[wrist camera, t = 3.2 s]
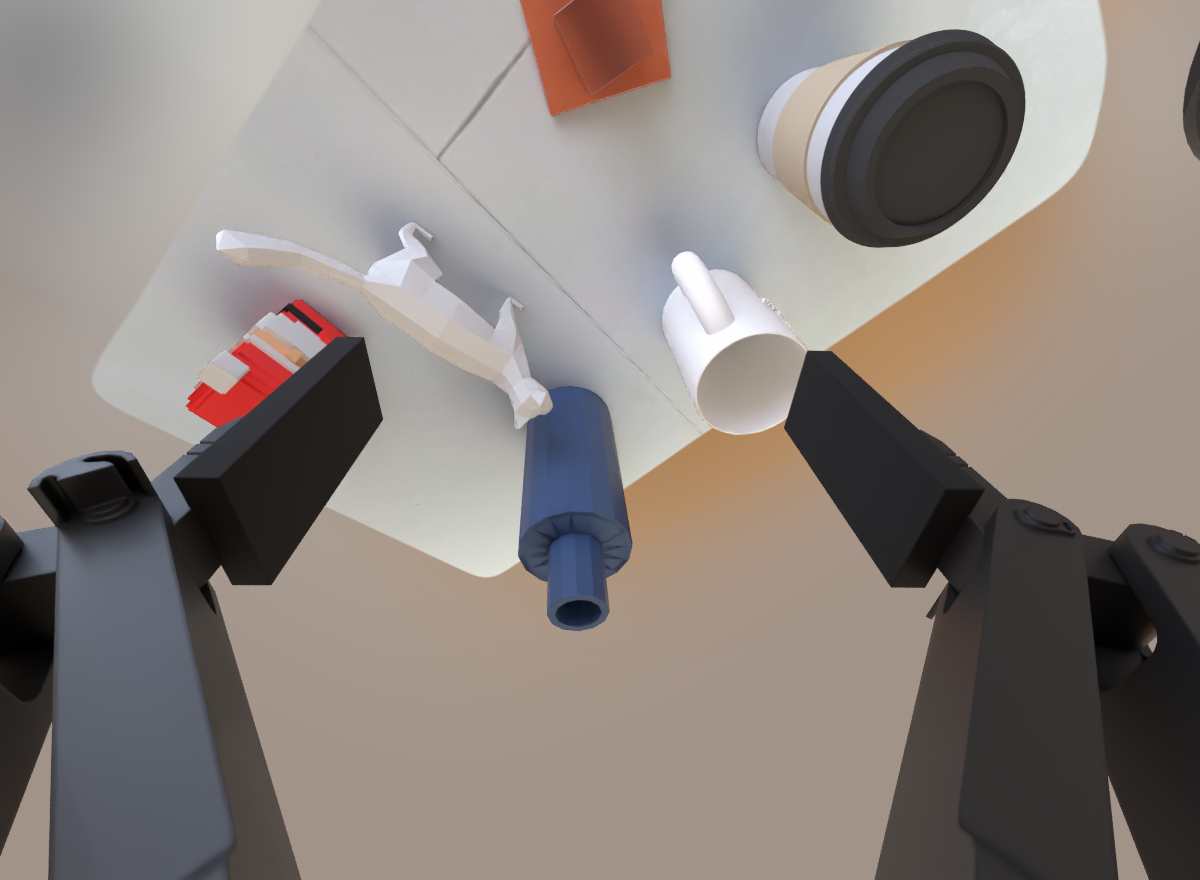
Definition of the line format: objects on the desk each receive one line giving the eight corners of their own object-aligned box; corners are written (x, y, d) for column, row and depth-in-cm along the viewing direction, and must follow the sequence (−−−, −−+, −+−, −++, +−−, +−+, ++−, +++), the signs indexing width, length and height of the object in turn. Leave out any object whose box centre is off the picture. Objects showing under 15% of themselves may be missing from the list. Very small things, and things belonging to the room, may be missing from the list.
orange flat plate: (652, -50, 27) (654, -52, 27) (669, 77, 31) (671, 77, 31) (519, -4, 28) (518, -5, 28) (551, 115, 32) (551, 116, 31)
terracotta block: (611, -24, 28) (619, -37, 24) (642, 54, 30) (653, 52, 27) (553, 21, 28) (553, 15, 25) (587, 93, 31) (591, 96, 28)
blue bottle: (598, 376, 44) (626, 560, 27) (618, 442, 49) (652, 633, 32) (515, 398, 45) (493, 591, 28) (543, 461, 50) (538, 657, 33)
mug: (715, 200, 36) (774, 245, 26) (769, 325, 42) (832, 398, 33) (620, 262, 38) (643, 325, 28) (685, 372, 44) (722, 453, 35)
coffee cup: (751, 49, 30) (877, 32, 19) (890, 39, 31) (1104, 16, 19) (735, 204, 36) (824, 268, 24) (853, 195, 36) (1000, 254, 24)
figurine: (320, 400, 43) (254, 491, 34) (242, 343, 39) (144, 429, 30) (382, 345, 41) (330, 428, 31) (305, 279, 37) (219, 350, 27)
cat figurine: (534, 369, 43) (528, 472, 32) (307, 211, 34) (187, 278, 23) (566, 333, 41) (571, 429, 30) (334, 156, 32) (218, 200, 21)
